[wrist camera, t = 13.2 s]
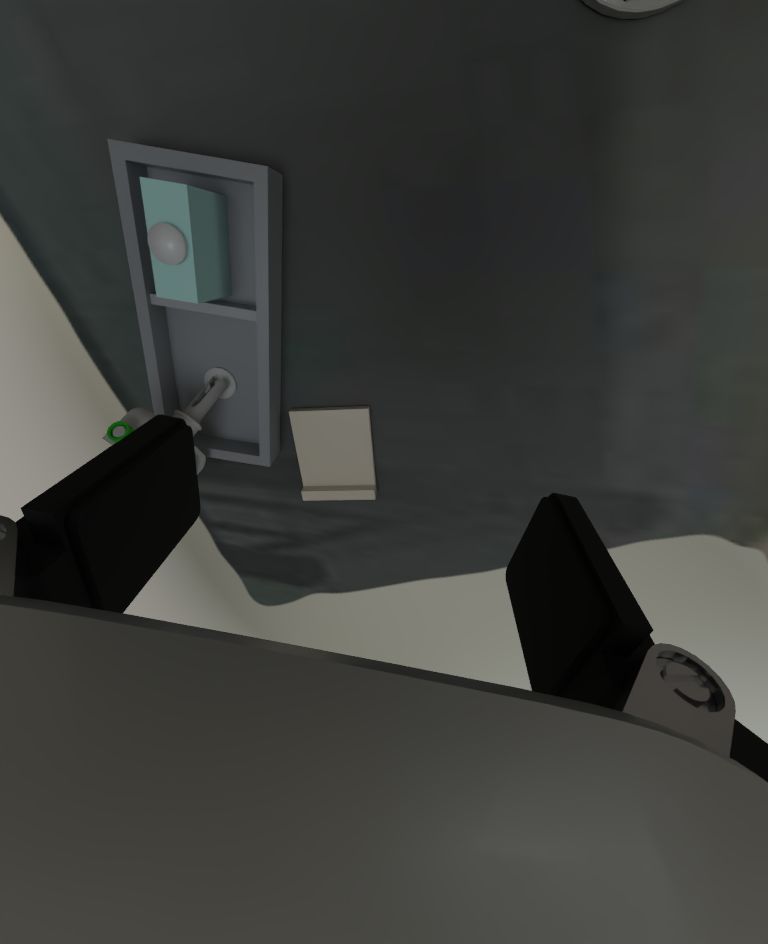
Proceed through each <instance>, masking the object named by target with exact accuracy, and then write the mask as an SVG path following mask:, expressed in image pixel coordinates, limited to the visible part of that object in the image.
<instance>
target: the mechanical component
mask: <svg viewBox="0 0 768 944" xmlns="http://www.w3.org/2000/svg"><path fill="white" fill-rule="evenodd" d="M227 388H228V386H227V384H226V383H225V382H224V381H222V380H218V381H217V380H216V379H215V377H214V376H213V377H212V378H211V379H210V380H209V382H208V383H207V384H206V385H205V386H204V387H203V389H202V390H201V391H200V392H199V393H198V394H197V396H196V397H195V398H194V399H193V400H192V401H191V403H190V404H189V405H188V406H187V407H186V408H185V409H184V410H183V411H179V410H175V411H174V415H173V416H172V417H177V418H182V419H184V420H185V422H186V424H187V425H189V426H190V427H191V428H192V431H193V436H194V435H195V434H196V433H197V431H198V430H201V429H202V427H201V425H200V424H199V423H200V421H201V419H202V418H203V417H204V416H205V414H206V413H207V412H208V411H209V410H210V408H211V407H212V406H213V405H214V404H215V402H216V401H217V400H218V399H219V397H220V396H221V395H222V394H223V393H224V391H225V390H226V389H227ZM155 416H156V415H155V414H153V413H152V412H150V411H148V410H146V409H144V408H140V407H139V408H134V409H132V410H130V411H129V412H128V413H127V414H126V415H125V416H124V417H123V418H122V419H121V420H120V421H118V422H116V423H113V424H112V425H111V426H110V427H109V428H108V431H107V434H106V435H105V436H104V437H103V439H104V440H106V441H107V442H109V443H110V444H112V445H114V444H115V443H117V442H118V441H120V440H121V439H122V438H124V437H125V436H127V435H128V434H130V433H131V432H133V431H134V430H136V429H137V428H139V427H140V426H141V425H143V424H144V423H146V422H147V421H149V420H150V419H152V418H153V417H155ZM194 449H195V459H196V468H197V475H198V473H199V472H200V471H201V470H202V468H203V467H204V464H205V461H206V458H205V455H204V454H203V453H202V452H201V451H200V450H199V449H198V448H197V447H196V446H194Z"/></svg>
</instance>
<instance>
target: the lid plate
mask: <svg viewBox="0 0 768 944" xmlns="http://www.w3.org/2000/svg"><path fill="white" fill-rule="evenodd" d="M289 416H290V421H291V426H292V431H293V436H294V441H295V446H296V451H297V456H298V461H299V466H300V471H301V476H302V481H303V486H304V487H303V489H302V491H301V492H302V497H303V501H308V500H371V499H375V498H376V491H377V489H376V477H375V466H374V455H373V443H372V432H371V420H370V409H369V406H350V407H324V408H298V409H290V411H289Z"/></svg>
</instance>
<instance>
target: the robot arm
mask: <svg viewBox="0 0 768 944" xmlns="http://www.w3.org/2000/svg"><path fill="white" fill-rule="evenodd" d="M582 1H583V2H584V3H585V4H586V5H588V6H590V7H591V8H593V9H594V10H596V11H598V12H599V13H601V14H603V15H607V16H611V17H615V18H619V19H638V18H644V17H647V16H651V15H654V14H658V13H661V12H663V11H665V10H667V9H669V8H671V7H673V6H675V5H677V4H679V3H681V2H683V1H684V0H626V1H623V0H582ZM21 510H22V512H23V514H24V517H22V518H21V519H19V520H18V521H17V522H14V521H13V520H11V519H10V518H8V517H4V516H0V944H768V744H767V743H766V742H764V741H763V740H762V739H761V738H759V737H758V736H757V735H755V734H754V733H752V732H751V731H750V730H749V729H747V728H746V727H745V726H743V725H742V724H741V723H740V722H738V721H737V720H735V711H736V710H735V702H734V699H733V697H732V695H731V693H730V691H729V689H728V688H727V686H726V685H725V683H724V682H723V681H722V679H721V678H720V677H719V676H718V675H717V674H716V673H715V672H714V671H713V670H712V669H711V668H710V667H709V666H708V665H707V664H705V663H704V662H703V661H702V660H700V659H699V658H698V657H696V656H695V655H693V654H691V653H689V652H688V651H685V650H684V649H682V648H679V647H676V646H674V645H671V644H662V643H660V644H656V645H655V644H654V642H653V640H652V639H651V637H650V633H651V632H652V631H653V629H652V627H651V625H650V624H649V622H648V620H647V618H646V617H645V615H644V613H643V611H642V610H641V608H640V606H639V605H638V603H637V601H636V599H635V598H634V596H633V594H632V592H631V591H630V589H629V587H628V586H627V584H626V582H625V580H624V579H623V577H622V575H621V573H620V572H619V570H618V568H617V567H616V565H615V563H614V562H613V560H612V558H611V556H610V555H609V553H608V551H607V549H606V547H605V546H604V544H603V542H602V541H601V539H600V537H599V535H598V534H597V532H596V530H595V528H594V527H593V525H592V523H591V522H590V520H589V518H588V516H587V515H586V513H585V511H584V509H583V508H582V506H581V504H580V503H579V501H578V499H577V498H576V497H572V496H567V495H562V494H557V493H552V494H551V495H549V497H543V498H542V499H541V501H540V503H539V505H538V507H537V509H536V511H535V513H534V515H533V517H532V519H531V521H530V523H529V525H528V527H527V529H526V531H525V533H524V535H523V537H522V539H521V541H520V543H519V545H518V546H517V548H516V550H515V552H514V554H513V556H512V558H511V560H510V562H509V564H508V567H507V570H506V583H507V587H508V591H509V595H510V600H511V604H512V608H513V612H514V617H515V621H516V625H517V629H518V633H519V638H520V642H521V646H522V650H523V654H524V659H525V662H526V667H527V671H528V675H529V680H530V684H531V688H532V691H529V690H524V689H520V688H515V687H510V686H505V685H500V684H495V683H490V682H484V681H479V680H474V679H468V678H464V677H459V676H454V675H448V674H443V673H438V672H433V671H428V670H422V669H417V668H412V667H407V666H402V665H397V664H392V663H386V662H381V661H376V660H370V659H365V658H360V657H355V656H349V655H344V654H339V653H334V652H328V651H323V650H318V649H312V648H307V647H302V646H296V645H291V644H286V643H280V642H275V641H270V640H264V639H259V638H254V637H248V636H243V635H237V634H232V633H227V632H221V631H216V630H210V629H205V628H199V627H194V626H188V625H182V624H177V623H172V622H167V621H161V620H155V619H150V618H144V617H139V616H134V615H128V614H123V612H124V611H125V610H126V608H127V607H128V606H129V605H130V603H131V602H132V601H133V600H134V598H135V597H136V596H137V595H138V593H139V592H140V591H141V590H142V588H143V587H144V586H145V584H146V583H147V582H148V581H149V579H150V578H151V577H152V576H153V574H154V573H155V572H156V571H157V569H158V568H159V567H160V565H161V564H162V563H163V562H164V560H165V559H166V558H167V557H168V555H169V554H170V553H171V552H172V550H173V549H174V548H175V546H176V545H177V544H178V543H179V541H180V540H181V539H182V538H183V536H184V535H185V534H186V533H187V531H188V530H189V528H190V527H191V526H192V525H193V524H194V522H195V521H196V520H197V518H198V516H199V513H200V498H199V488H198V478H197V468H196V459H195V449H194V439H193V431H192V428H191V427H190V426H189V425H187V424H186V422H185V420H184V419H182V418H177V417H172V416H167V415H162V414H159V415H156V416H155V417H153V418H152V419H150V420H149V421H147V422H146V423H144V424H143V425H141V426H140V427H139V428H137V429H136V430H134V431H133V432H131V433H130V434H128V435H127V436H125V437H124V438H122V439H121V440H120V441H118V442H117V443H115V444H114V445H112V446H111V447H109V448H108V449H107V450H105V451H103V452H102V453H100V454H99V455H98V456H96V457H95V458H93V459H92V460H90V461H89V462H87V463H86V464H85V465H83V466H82V467H80V468H79V469H77V470H76V471H74V472H73V473H71V474H70V475H68V476H67V477H65V478H64V479H62V480H61V481H60V482H58V483H57V484H55V485H54V486H52V487H51V488H49V489H48V490H46V491H45V492H44V493H42V494H41V495H39V496H38V497H36V498H35V499H33V500H32V501H30V502H29V503H27V504H26V505H24V506H23V507H22V508H21Z"/></svg>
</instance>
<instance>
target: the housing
mask: <svg viewBox="0 0 768 944" xmlns="http://www.w3.org/2000/svg"><path fill="white" fill-rule="evenodd" d="M108 145H109V151H110V156H111V162H112V168H113V174H114V180H115V186H116V192H117V198H118V203H119V209H120V215H121V221H122V227H123V233H124V239H125V245H126V250H127V256H128V262H129V268H130V274H131V280H132V286H133V292H134V297H135V303H136V309H137V315H138V321H139V327H140V333H141V339H142V344H143V350H144V356H145V362H146V368H147V374H148V380H149V386H150V391H151V397H152V403H153V409H154V414H155V415H159V414H162V415H167V416H173V415H174V411H175V410H179V411H183V410H184V409H185V408H186V407H187V406H188V405H189V404H190V403H191V401H192V400H193V399H194V398H195V397H196V396H197V394H198V393H199V392H200V391H201V390H202V389H203V387H204V386H205V385H206V384H207V383H208V382H209V380H210V379H211V378H212V377H213V376H214V377H215V379H216V380H217V381H218V380H222V381H224V382H225V383H226V384H227V386H228V388H227V389H226V390H225V391H224V393H223V394H222V395H221V396H220V397H219V399H218V400H217V401H216V402H215V404H214V405H213V406H212V407H211V408H210V410H209V411H208V412H207V413H206V414H205V416H204V417H203V418H202V419H201V421H200V423H199V424H200V425H201V427H202V429H201V430H198V431H197V433H196V434H195V435H194V436H193V439H194V446H196V447H197V448H198V449H199V450H200V451H201V452H202V453H203V454H204V455H205V457H211V458H218V459H224V460H230V461H236V462H243V463H249V464H255V465H261V466H268V467H270V466H271V464H272V463H273V461H274V460H275V458H276V457H277V455H278V454H279V452H280V427H281V311H282V195H283V175H282V174H280V173H278V172H277V171H275V170H273V169H271V168H270V167H268V166H263V165H257V164H251V163H246V162H240V161H234V160H228V159H222V158H216V157H211V156H205V155H199V154H193V153H187V152H181V151H176V150H170V149H164V148H158V147H152V146H146V145H140V144H135V143H129V142H123V141H117V140H111V139H108Z"/></svg>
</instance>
